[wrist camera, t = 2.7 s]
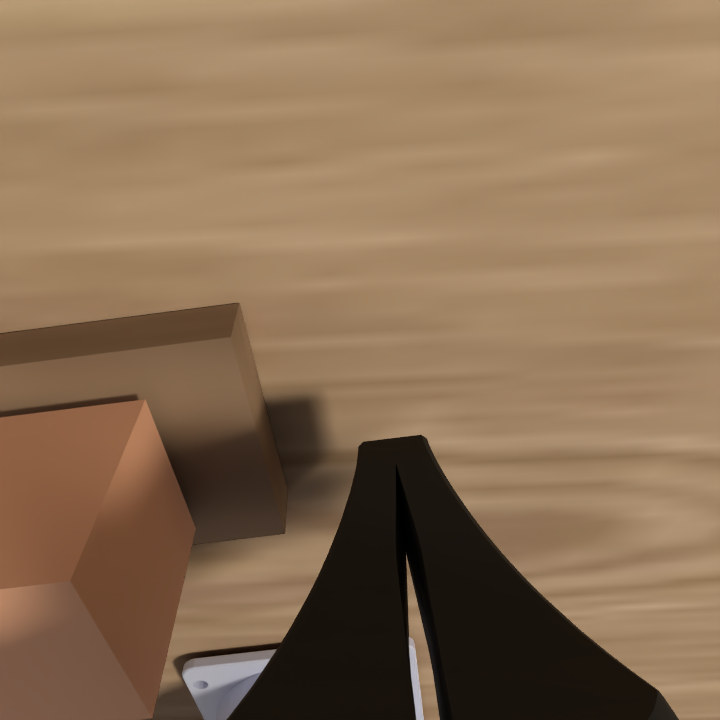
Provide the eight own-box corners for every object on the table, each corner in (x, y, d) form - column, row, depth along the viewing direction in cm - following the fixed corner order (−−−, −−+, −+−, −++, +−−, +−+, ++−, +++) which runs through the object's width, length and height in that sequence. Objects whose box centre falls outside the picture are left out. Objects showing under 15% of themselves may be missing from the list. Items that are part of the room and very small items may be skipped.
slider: (196, 528, 15) (151, 718, 11) (36, 547, 15) (-60, 741, 11) (145, 399, 13) (69, 581, 9) (-41, 422, 13) (-192, 612, 9)
